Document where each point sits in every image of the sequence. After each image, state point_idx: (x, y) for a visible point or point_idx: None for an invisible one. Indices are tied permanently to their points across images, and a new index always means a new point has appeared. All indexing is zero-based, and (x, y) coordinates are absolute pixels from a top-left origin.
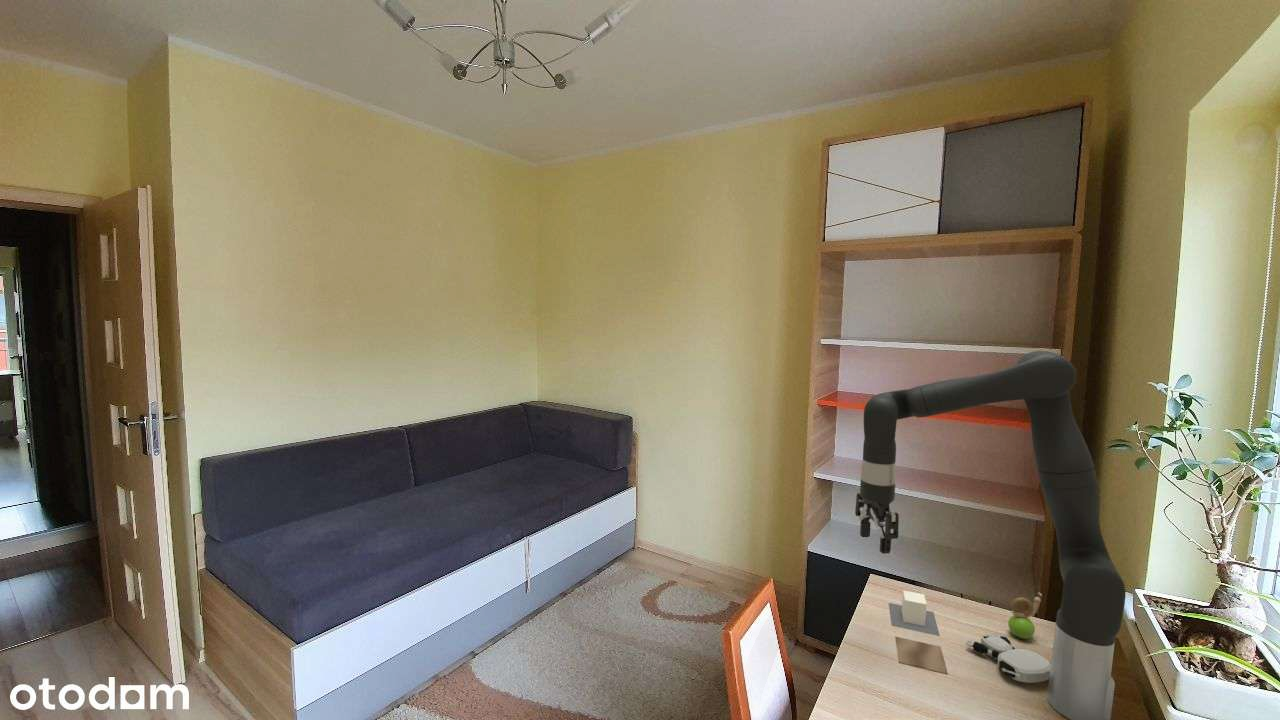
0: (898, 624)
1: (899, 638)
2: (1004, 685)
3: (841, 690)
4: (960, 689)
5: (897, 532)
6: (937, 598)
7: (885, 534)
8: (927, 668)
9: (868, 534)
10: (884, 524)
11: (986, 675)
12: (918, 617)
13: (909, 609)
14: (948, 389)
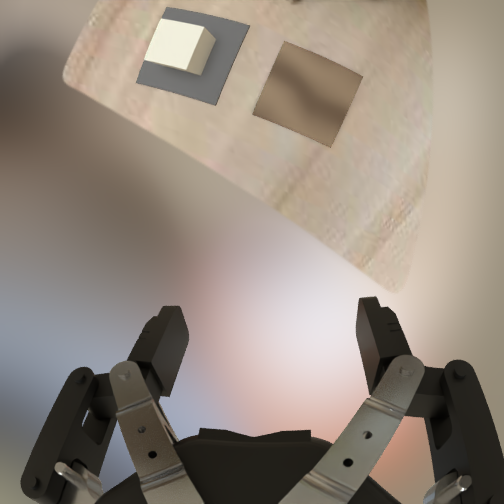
0: (211, 89)
1: (259, 108)
2: (382, 5)
3: (378, 270)
4: (395, 81)
5: (480, 397)
6: None
7: (427, 420)
8: (350, 104)
9: (177, 318)
10: (383, 451)
11: (360, 13)
12: (207, 47)
13: (196, 62)
14: None
